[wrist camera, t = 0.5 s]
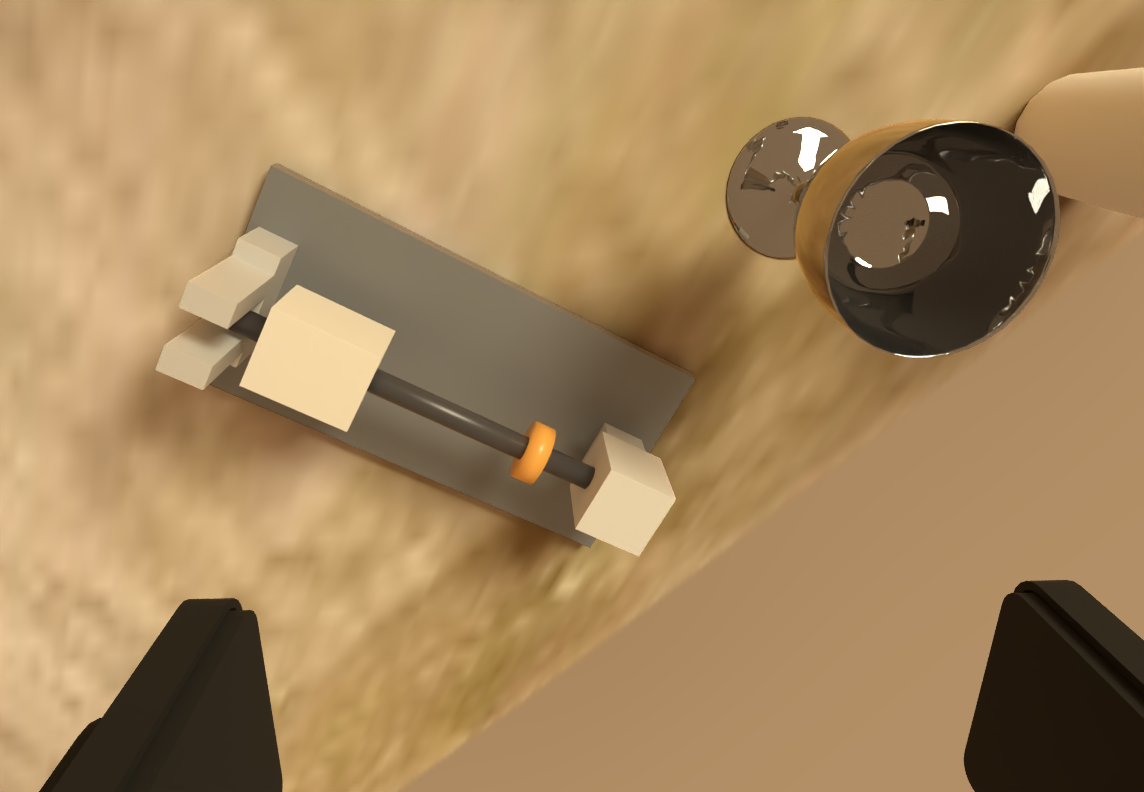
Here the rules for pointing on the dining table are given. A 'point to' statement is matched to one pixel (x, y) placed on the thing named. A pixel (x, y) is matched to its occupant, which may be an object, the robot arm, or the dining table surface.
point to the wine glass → (902, 225)
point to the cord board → (449, 367)
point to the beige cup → (1091, 137)
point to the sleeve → (316, 357)
